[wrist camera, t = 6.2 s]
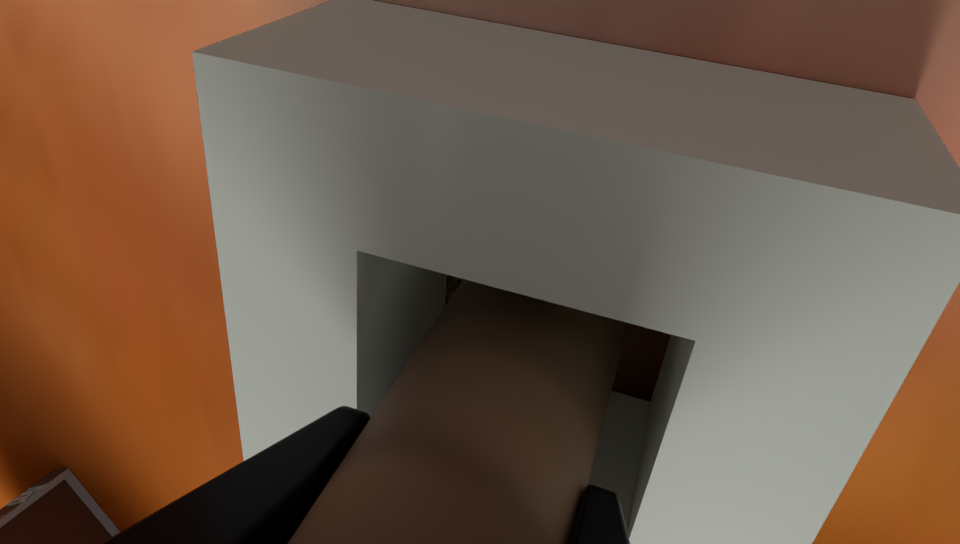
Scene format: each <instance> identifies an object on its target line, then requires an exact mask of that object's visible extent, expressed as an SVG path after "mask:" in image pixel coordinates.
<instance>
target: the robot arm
mask: <svg viewBox="0 0 960 544" xmlns="http://www.w3.org/2000/svg"><path fill="white" fill-rule="evenodd" d="M369 420H370V416H369V414H368V413H366V412H364V411H361V410H358V409H354V408H351V407H348V406H341V407H338V408H336V409H334V410H332V411H331V412H329V413H327V414H325V415H324V416H322V417H320V418H318V419H317V420H315V421H313V422H311V423H310V424H308V425H306V426H304V427H303V428H301V429H299V430H297V431H296V432H294V433H292V434H290V435H289V436H287V437H285V438H283V439H282V440H280V441H278V442H276V443H275V444H273V445H271V446H269V447H268V448H266V449H264V450H262V451H261V452H259V453H257V454H255V455H254V456H252V457H250V458H249V459H247V460H245V461H243V462H242V463H240V464H238V465H236V466H235V467H233V468H231V469H229V470H228V471H226V472H224V473H222V474H221V475H219V476H217V477H215V478H214V479H212V480H210V481H208V482H207V483H205V484H203V485H201V486H200V487H198V488H196V489H194V490H193V491H191V492H189V493H187V494H186V495H184V496H182V497H180V498H179V499H177V500H175V501H173V502H172V503H170V504H168V505H167V506H165V507H163V508H161V509H160V510H158V511H156V512H154V513H153V514H151V515H149V516H147V517H146V518H144V519H142V520H140V521H139V522H137V523H135V524H133V525H132V526H130V527H128V528H126V529H125V530H123V531H121V532H119V533H118V534H116V535H114V536H112V537H111V538H109V539H107V540H105V541H104V542H103V543H102V544H287V543H288V542H289V540H290V539H291V537H292V536H293V534H294V533H295V531H296V530H297V528H298V527H299V525H300V524H301V522H302V521H303V519H304V518H305V516H306V515H307V513H308V512H309V510H310V509H311V507H312V506H313V504H314V503H315V501H316V500H317V498H318V497H319V495H320V494H321V492H322V491H323V489H324V488H325V486H326V485H327V483H328V481H329V480H330V478H331V477H332V475H333V474H334V472H335V471H336V469H337V468H338V466H339V465H340V463H341V462H342V460H343V459H344V457H345V456H346V454H347V453H348V451H349V450H350V448H351V447H352V445H353V444H354V442H355V441H356V439H357V438H358V436H359V435H360V433H361V432H362V430H363V429H364V427H365V426H366V424H367V423H368V421H369ZM570 544H630V541H629V537H628V533H627V529H626V525H625V520H624V516H623V512H622V508H621V504H620V500H619V497H618V495H617V494H616V493H615V492H613V491H611V490H607V489H604V488H601V487H598V486H595V485H591V484H589V485H587V486H586V487H585V489H584V492H583V496H582V500H581V504H580V508H579V512H578V516H577V519H576V523H575V527H574V531H573V535H572V539H571V542H570Z"/></svg>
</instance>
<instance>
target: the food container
mask: <svg viewBox="0 0 960 544" xmlns="http://www.w3.org/2000/svg"><path fill="white" fill-rule="evenodd" d="M119 532H120V531H119V530H118V528H117V527H116V526H115V525H114V524H113V522H112V521H111V520H110V519H109V517H108V516H107V515H106V514H105V513H104V511H103V510H102V509H101V508H100V506H99V505H98V504H97V503H96V501H95V500H94V499H93V498H92V497H91V495H90V494H89V493H88V492H87V490H86V489H85V488H84V487H83V486H82V484H81V483H80V482H79V481H78V479H77V478H76V477H75V476H74V475H73V473H72V472H71V471H70V470H69V468H66V469H63V470H59V471H55V472H52V473H49V474H48V475H46V476H45V477H44V478H42V479H41V480H40V481H38V482H37V483H36V484H34V485H33V486H32V487H30V488H29V489H27V490H26V491H25V492H23V493H22V494H21V495H19V496H18V497H17V498H15V499H14V500H13V501H11V502H10V503H9V504H7V505H6V506H5V507H3V508H2V509H1V510H0V544H102V543H103V542H104V541H105V540H107V539H109V538H111V537H112V536H114V535H116V534H118V533H119Z"/></svg>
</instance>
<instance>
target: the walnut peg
mask: <svg viewBox="0 0 960 544" xmlns="http://www.w3.org/2000/svg"><path fill="white" fill-rule="evenodd" d="M624 338H625V323H624V322H623V321H619V320H615V319H611V318H608V317H604V316H600V315H596V314H593V313H589V312H585V311H581V310H578V309H574V308H570V307H566V306H563V305H559V304H555V303H552V302H548V301H544V300H540V299H537V298H533V297H529V296H525V295H522V294H518V293H514V292H510V291H507V290H503V289H499V288H495V287H492V286H488V285H484V284H480V283H477V282H473V281H469V280H465V279H463V280H462V281H461V283H460V284H459V286H458V287H457V289H456V290H455V292H454V293H453V295H452V296H451V298H450V299H449V301H448V302H447V304H446V305H445V307H444V308H443V310H442V311H441V313H440V314H439V316H438V317H437V319H436V320H435V322H434V323H433V325H432V326H431V328H430V329H429V331H428V332H427V334H426V335H425V337H424V339H423V340H422V342H421V343H420V345H419V346H418V348H417V349H416V351H415V352H414V354H413V355H412V357H411V358H410V360H409V361H408V363H407V364H406V366H405V367H404V369H403V370H402V372H401V373H400V375H399V376H398V378H397V379H396V381H395V382H394V384H393V385H392V387H391V388H390V390H389V391H388V393H387V394H386V396H385V397H384V399H383V400H382V402H381V403H380V405H379V406H378V408H377V409H376V411H375V412H374V414H373V415H372V417H371V418H370V420H369V421H368V423H367V424H366V426H365V427H364V429H363V430H362V432H361V433H360V435H359V436H358V438H357V439H356V441H355V442H354V444H353V445H352V447H351V448H350V450H349V451H348V453H347V454H346V456H345V457H344V459H343V460H342V462H341V463H340V465H339V466H338V468H337V469H336V471H335V472H334V474H333V475H332V477H331V478H330V480H329V481H328V483H327V485H326V486H325V488H324V489H323V491H322V492H321V494H320V495H319V497H318V498H317V500H316V501H315V503H314V504H313V506H312V507H311V509H310V510H309V512H308V513H307V515H306V516H305V518H304V519H303V521H302V522H301V524H300V525H299V527H298V528H297V530H296V531H295V533H294V534H293V536H292V537H291V539H290V540H289V542H288V543H287V544H570V542H571V539H572V535H573V531H574V527H575V523H576V519H577V516H578V512H579V508H580V504H581V500H582V496H583V492H584V489H585V487H586V486H587V485H588V481H589V477H590V473H591V469H592V465H593V461H594V457H595V454H596V450H597V446H598V442H599V438H600V434H601V430H602V426H603V422H604V418H605V415H606V411H607V407H608V403H609V399H610V395H611V391H612V387H613V383H614V379H615V376H616V372H617V368H618V364H619V360H620V356H621V352H622V348H623V344H624Z"/></svg>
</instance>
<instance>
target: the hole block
mask: <svg viewBox="0 0 960 544" xmlns="http://www.w3.org/2000/svg"><path fill="white" fill-rule="evenodd" d="M192 55H193V63H194V71H195V79H196V87H197V95H198V103H199V111H200V119H201V127H202V135H203V143H204V150H205V158H206V166H207V174H208V182H209V190H210V198H211V206H212V214H213V222H214V230H215V238H216V246H217V253H218V261H219V269H220V277H221V285H222V293H223V301H224V309H225V317H226V325H227V333H228V341H229V348H230V356H231V364H232V372H233V380H234V388H235V396H236V404H237V412H238V420H239V428H240V436H241V444H242V451H243V459H244V461H245V460H247V459H249V458H250V457H252V456H254V455H255V454H257V453H259V452H261V451H262V450H264V449H266V448H268V447H269V446H271V445H273V444H275V443H276V442H278V441H280V440H282V439H283V438H285V437H287V436H289V435H290V434H292V433H294V432H296V431H297V430H299V429H301V428H303V427H304V426H306V425H308V424H310V423H311V422H313V421H315V420H317V419H318V418H320V417H322V416H324V415H325V414H327V413H329V412H331V411H332V410H334V409H336V408H338V407H341V406H348V407H351V408H354V409H358V410H361V411H364V412H366V413H368V414H369V416H370V418H371V417H372V415H373V414H374V412H375V411H376V409H377V408H378V406H379V405H380V403H381V402H382V400H383V399H384V397H385V396H386V394H387V393H388V391H389V390H390V388H391V387H392V385H393V384H394V382H395V381H396V379H397V378H398V376H399V375H400V373H401V372H402V370H403V369H404V367H405V366H406V364H407V363H408V361H409V360H410V358H411V357H412V355H413V354H414V352H415V351H416V349H417V348H418V346H419V345H420V343H421V342H422V340H423V339H424V337H425V335H426V334H427V332H428V331H429V329H430V328H431V326H432V325H433V323H434V322H435V320H436V319H437V317H438V316H439V314H440V313H441V311H442V310H443V308H444V307H445V297H446V285H447V275H450V276H454V277H458V278H462V279H465V280H469V281H473V282H477V283H480V284H484V285H488V286H492V287H495V288H499V289H503V290H507V291H510V292H514V293H518V294H522V295H525V296H529V297H533V298H537V299H540V300H544V301H548V302H552V303H555V304H559V305H563V306H566V307H570V308H574V309H578V310H581V311H585V312H589V313H593V314H596V315H600V316H604V317H608V318H611V319H615V320H619V321H623V322H626V323H630V324H634V325H638V326H641V327H645V328H649V329H653V330H656V331H660V332H664V333H668V334H671V337H670V340H669V343H668V346H667V350H666V353H665V356H664V359H663V362H662V366H661V369H660V372H659V375H658V379H657V382H656V385H655V388H654V392H653V395H652V398H651V401H650V402H649V401H646V400H642V399H639V398H635V397H632V396H628V395H625V394H621V393H618V392H615V391H611V395H610V399H609V403H608V407H607V411H606V415H605V418H604V422H603V426H602V430H601V434H600V438H599V442H598V446H597V450H596V454H595V457H594V461H593V465H592V469H591V473H590V477H589V481H588V485H589V484H591V485H595V486H598V487H601V488H604V489H607V490H611V491H613V492H615V493H616V494H617V495H618V497H619V500H620V504H621V508H622V512H623V516H624V520H625V525H626V529H627V533H628V537H629V541H630V544H812V543H813V541H814V539H815V537H816V536H817V534H818V532H819V530H820V528H821V527H822V525H823V523H824V521H825V520H826V518H827V516H828V514H829V512H830V511H831V509H832V507H833V505H834V504H835V502H836V500H837V498H838V497H839V495H840V493H841V491H842V489H843V488H844V486H845V484H846V482H847V481H848V479H849V477H850V475H851V473H852V472H853V470H854V468H855V466H856V465H857V463H858V461H859V459H860V457H861V456H862V454H863V452H864V450H865V449H866V447H867V445H868V443H869V442H870V440H871V438H872V436H873V434H874V433H875V431H876V429H877V427H878V426H879V424H880V422H881V420H882V418H883V417H884V415H885V413H886V411H887V410H888V408H889V406H890V404H891V403H892V401H893V399H894V397H895V395H896V394H897V392H898V390H899V388H900V387H901V385H902V383H903V381H904V379H905V378H906V376H907V374H908V372H909V371H910V369H911V367H912V365H913V363H914V362H915V360H916V358H917V356H918V355H919V353H920V351H921V349H922V348H923V346H924V344H925V342H926V340H927V339H928V337H929V335H930V333H931V332H932V330H933V328H934V326H935V324H936V323H937V321H938V319H939V317H940V316H941V314H942V312H943V310H944V309H945V307H946V305H947V303H948V301H949V300H950V298H951V296H952V294H953V293H954V291H955V289H956V287H957V285H958V284H959V282H960V168H959V166H958V165H957V163H956V162H955V160H954V159H953V157H952V155H951V154H950V152H949V151H948V149H947V148H946V146H945V144H944V143H943V141H942V140H941V138H940V137H939V135H938V133H937V132H936V130H935V129H934V127H933V126H932V124H931V122H930V121H929V119H928V118H927V116H926V115H925V113H924V111H923V110H922V108H921V107H920V105H919V104H918V102H917V100H916V99H911V98H906V97H900V96H895V95H889V94H884V93H878V92H873V91H867V90H862V89H856V88H851V87H845V86H840V85H834V84H829V83H823V82H818V81H812V80H807V79H801V78H796V77H790V76H785V75H779V74H774V73H768V72H763V71H757V70H752V69H746V68H741V67H735V66H730V65H724V64H719V63H713V62H708V61H702V60H697V59H691V58H686V57H680V56H675V55H669V54H664V53H658V52H653V51H647V50H642V49H636V48H631V47H625V46H620V45H614V44H609V43H603V42H598V41H592V40H587V39H581V38H576V37H570V36H565V35H559V34H554V33H548V32H543V31H537V30H532V29H526V28H521V27H515V26H510V25H504V24H499V23H493V22H488V21H482V20H477V19H471V18H466V17H460V16H455V15H449V14H444V13H438V12H433V11H427V10H422V9H416V8H411V7H405V6H400V5H394V4H389V3H383V2H378V1H372V0H331V1H328V2H325V3H323V4H320V5H317V6H315V7H312V8H309V9H306V10H304V11H301V12H298V13H296V14H293V15H290V16H287V17H285V18H282V19H279V20H277V21H274V22H271V23H268V24H266V25H263V26H260V27H258V28H255V29H252V30H249V31H247V32H244V33H241V34H239V35H236V36H233V37H230V38H228V39H225V40H222V41H220V42H217V43H214V44H212V45H209V46H206V47H203V48H201V49H198V50H195V51H193V52H192Z"/></svg>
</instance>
